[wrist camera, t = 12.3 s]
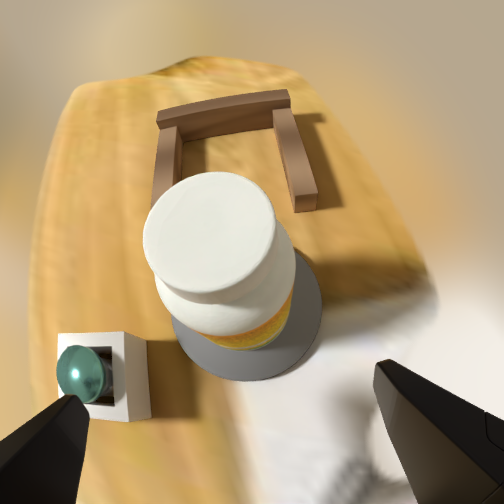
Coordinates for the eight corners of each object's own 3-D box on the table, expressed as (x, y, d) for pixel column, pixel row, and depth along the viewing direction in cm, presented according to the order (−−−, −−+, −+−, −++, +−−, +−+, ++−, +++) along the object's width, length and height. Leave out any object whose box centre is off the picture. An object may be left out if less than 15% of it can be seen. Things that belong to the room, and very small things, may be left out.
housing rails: (315, 210, 20) (319, 183, 17) (160, 233, 20) (144, 210, 18) (287, 115, 25) (286, 89, 22) (167, 135, 25) (158, 111, 22)
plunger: (133, 403, 15) (102, 405, 12) (92, 400, 15) (57, 399, 12) (130, 353, 16) (99, 344, 13) (90, 353, 16) (56, 344, 13)
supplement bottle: (181, 312, 17) (92, 238, 9) (239, 248, 19) (205, 133, 10) (249, 372, 15) (207, 361, 7) (309, 300, 17) (337, 208, 8)
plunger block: (151, 417, 15) (129, 422, 12) (87, 412, 15) (60, 413, 13) (146, 340, 17) (123, 331, 14) (84, 342, 17) (58, 333, 15)
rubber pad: (332, 368, 16) (334, 368, 15) (178, 386, 16) (175, 386, 15) (305, 230, 19) (306, 226, 19) (173, 250, 20) (170, 246, 19)
